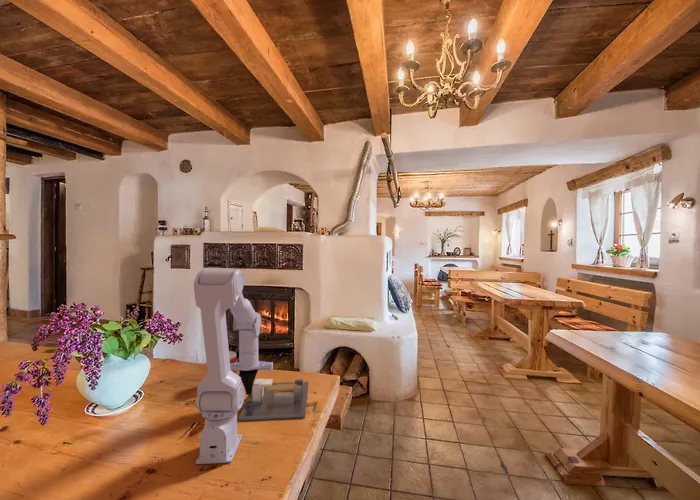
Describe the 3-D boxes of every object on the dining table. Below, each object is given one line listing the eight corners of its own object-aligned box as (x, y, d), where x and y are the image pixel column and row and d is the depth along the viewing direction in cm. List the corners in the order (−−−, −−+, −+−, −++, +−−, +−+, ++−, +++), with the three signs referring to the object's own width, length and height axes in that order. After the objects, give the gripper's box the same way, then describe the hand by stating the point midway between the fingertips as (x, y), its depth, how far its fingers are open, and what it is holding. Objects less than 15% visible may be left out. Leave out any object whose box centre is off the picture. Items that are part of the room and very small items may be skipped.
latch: (270, 402, 91) (270, 385, 91) (252, 402, 91) (252, 385, 90) (273, 394, 96) (273, 378, 96) (256, 395, 95) (255, 378, 95)
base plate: (304, 417, 85) (304, 397, 85) (238, 420, 84) (238, 400, 84) (308, 384, 105) (308, 368, 105) (255, 387, 104) (255, 370, 104)
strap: (299, 390, 93) (299, 386, 93) (265, 392, 92) (265, 389, 92) (300, 385, 95) (300, 382, 95) (267, 388, 95) (267, 385, 95)
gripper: (274, 345, 97) (274, 386, 97) (229, 346, 96) (229, 387, 96) (270, 353, 90) (270, 397, 90) (221, 354, 89) (221, 399, 89)
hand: (249, 393), depth 93 cm, fingers closed
